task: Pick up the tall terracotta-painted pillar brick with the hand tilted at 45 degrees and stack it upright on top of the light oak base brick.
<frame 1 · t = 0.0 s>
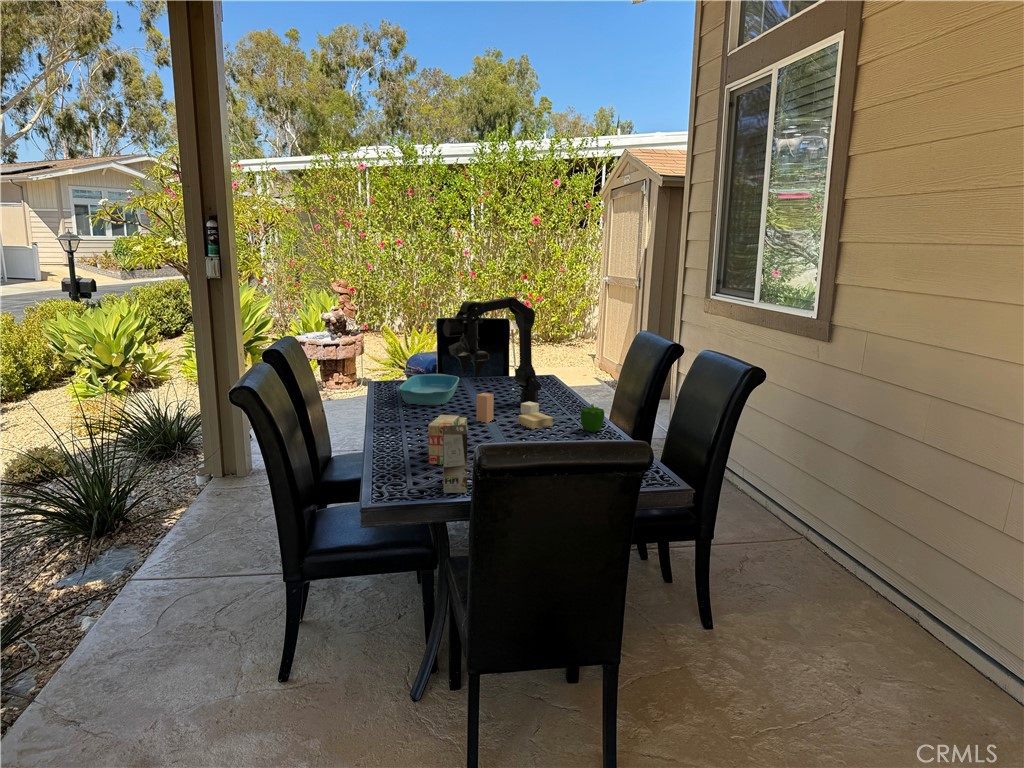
hand: (470, 375, 251), 15 cm above the table, tool pointing down, fingers open, 9 cm apart
coffee box: (455, 487, 175), on the table
base brick: (535, 425, 238), on the table
stack of blocks: (449, 455, 203), on the table
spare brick: (529, 413, 254), on the table
pillar brick: (484, 420, 242), on the table
bell pepper: (591, 430, 232), on the table
casserole dish: (430, 398, 278), on the table
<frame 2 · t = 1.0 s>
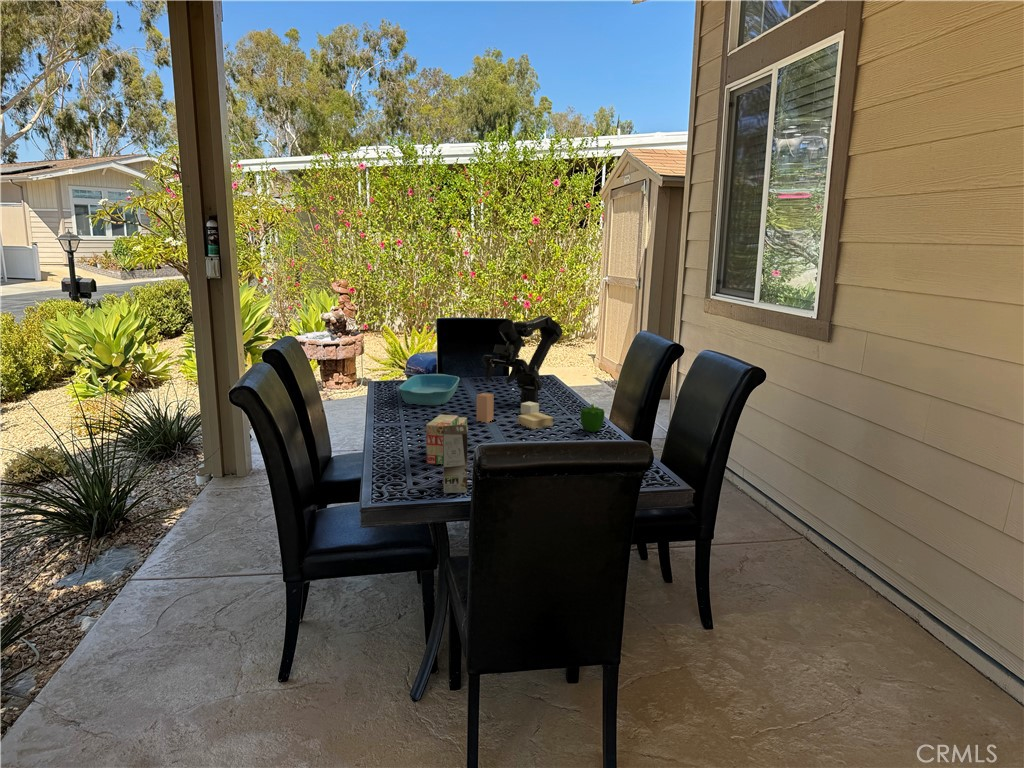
hand: (496, 381, 246), 13 cm above the table, tool tilted 45°, fingers open, 9 cm apart
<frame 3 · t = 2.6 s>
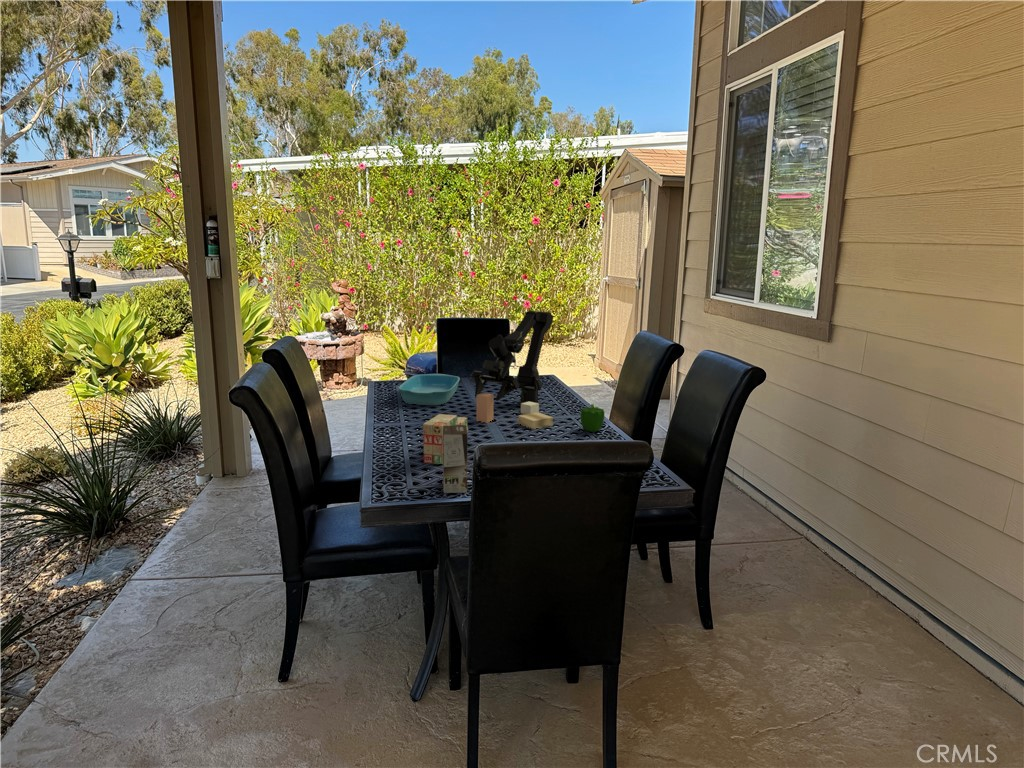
hand: (486, 398, 241), 8 cm above the table, tool tilted 45°, fingers open, 9 cm apart
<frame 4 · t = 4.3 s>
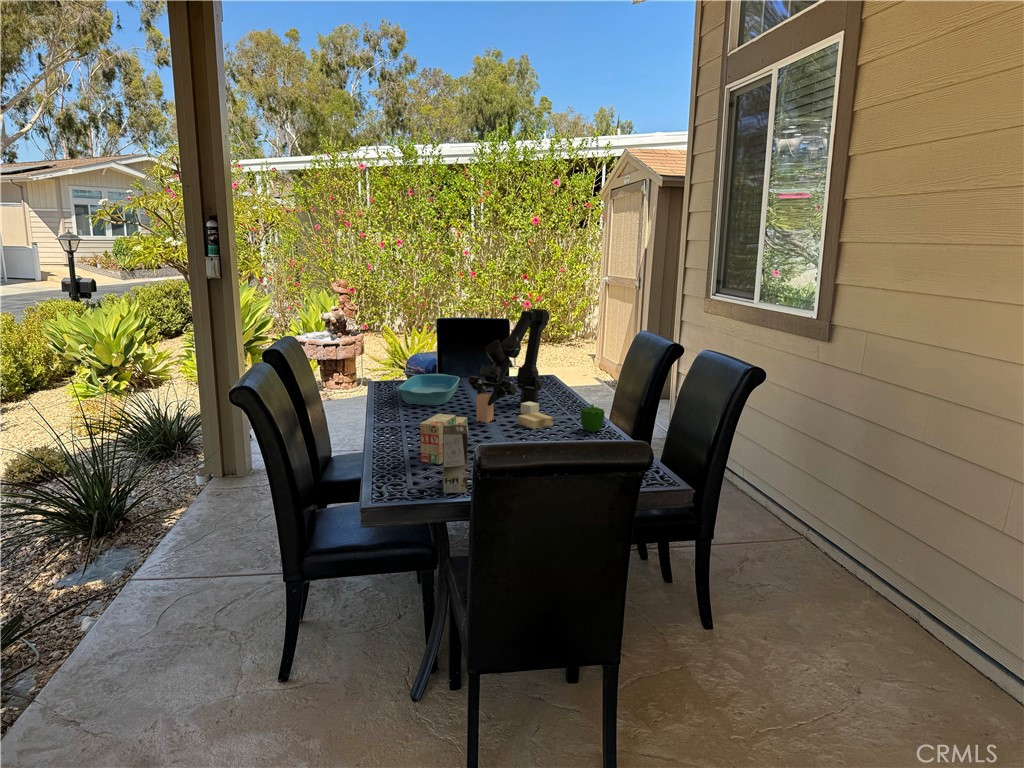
hand: (482, 404, 239), 7 cm above the table, tool tilted 45°, fingers closed on pillar brick, 4 cm apart
pillar brick: (484, 420, 242), on the table, touching gripper
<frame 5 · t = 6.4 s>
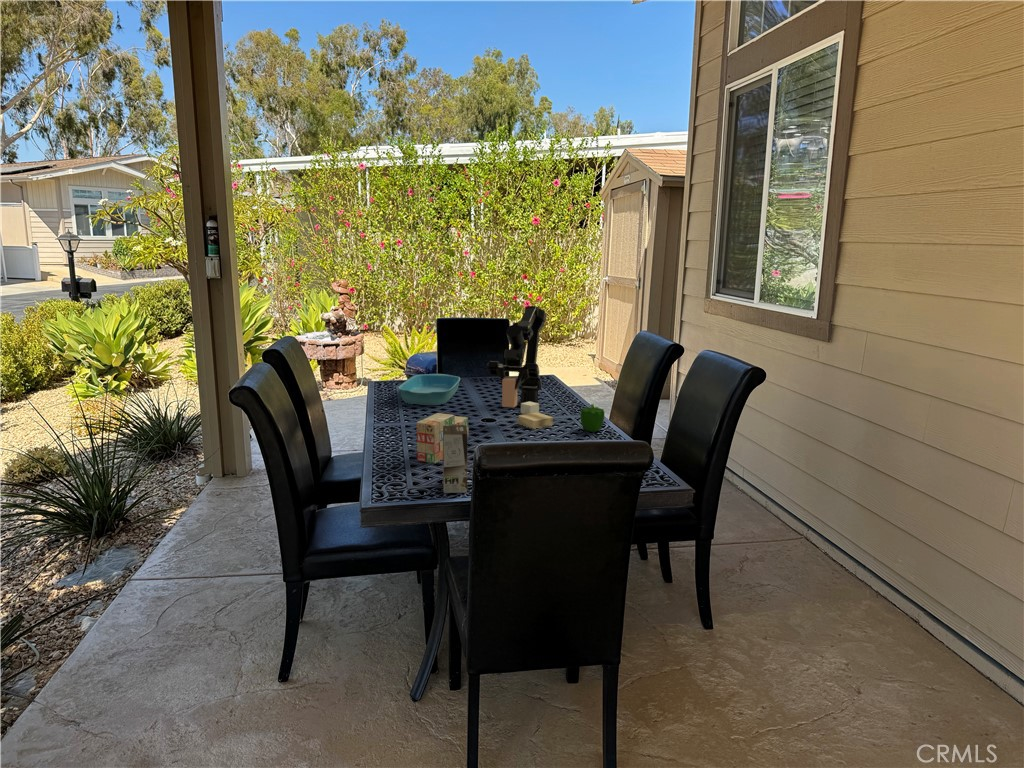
hand: (509, 388, 234), 13 cm above the table, tool tilted 45°, fingers closed on pillar brick, 4 cm apart
pillar brick: (509, 405, 237), point 7 cm above the table, touching gripper
when the fingers open (11 cm above the table, at t = 8.6 s): pillar brick drops 1 cm, resting on base brick.
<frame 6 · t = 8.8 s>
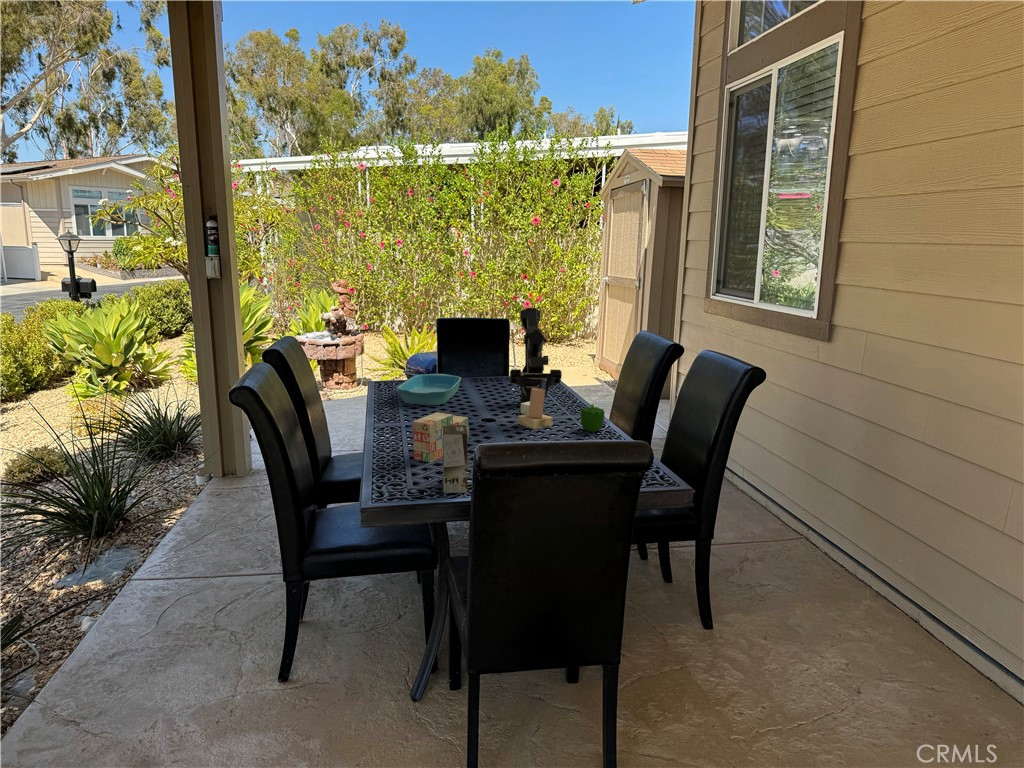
hand: (536, 396, 234), 11 cm above the table, tool tilted 45°, fingers open, 7 cm apart
base brick: (535, 426, 238), on the table, touching pillar brick
pillar brick: (535, 416, 237), point 3 cm above the table, touching base brick
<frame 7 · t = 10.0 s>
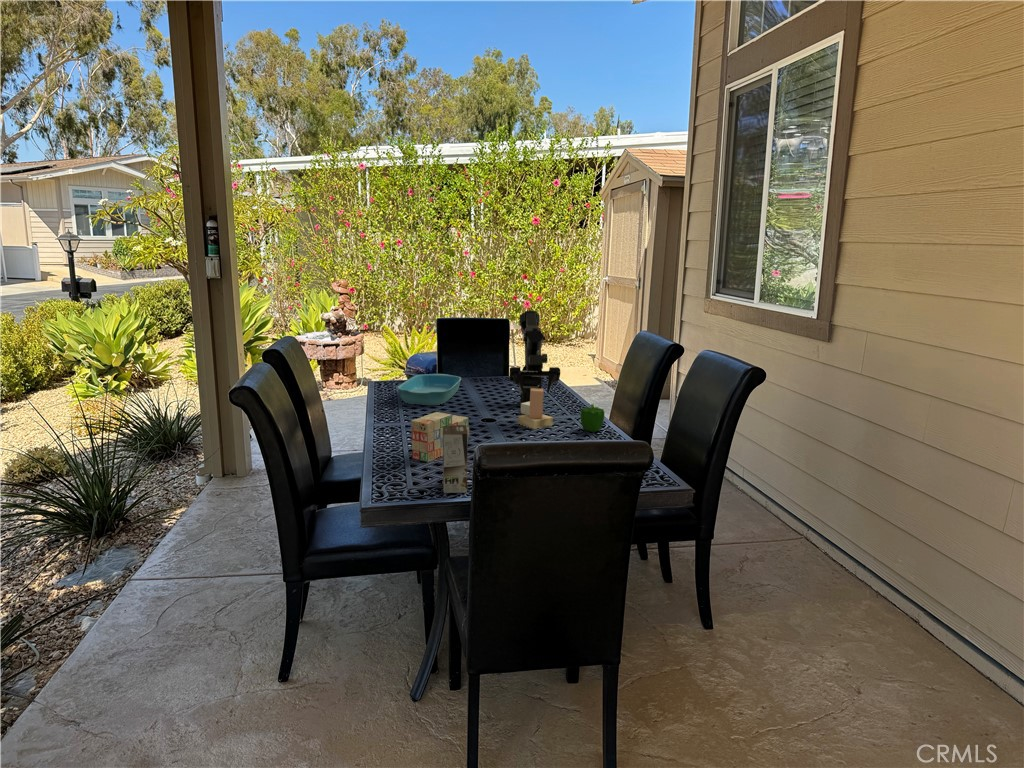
hand: (535, 393, 238), 11 cm above the table, tool tilted 45°, fingers open, 9 cm apart
base brick: (535, 426, 238), on the table
pillar brick: (535, 416, 237), point 3 cm above the table
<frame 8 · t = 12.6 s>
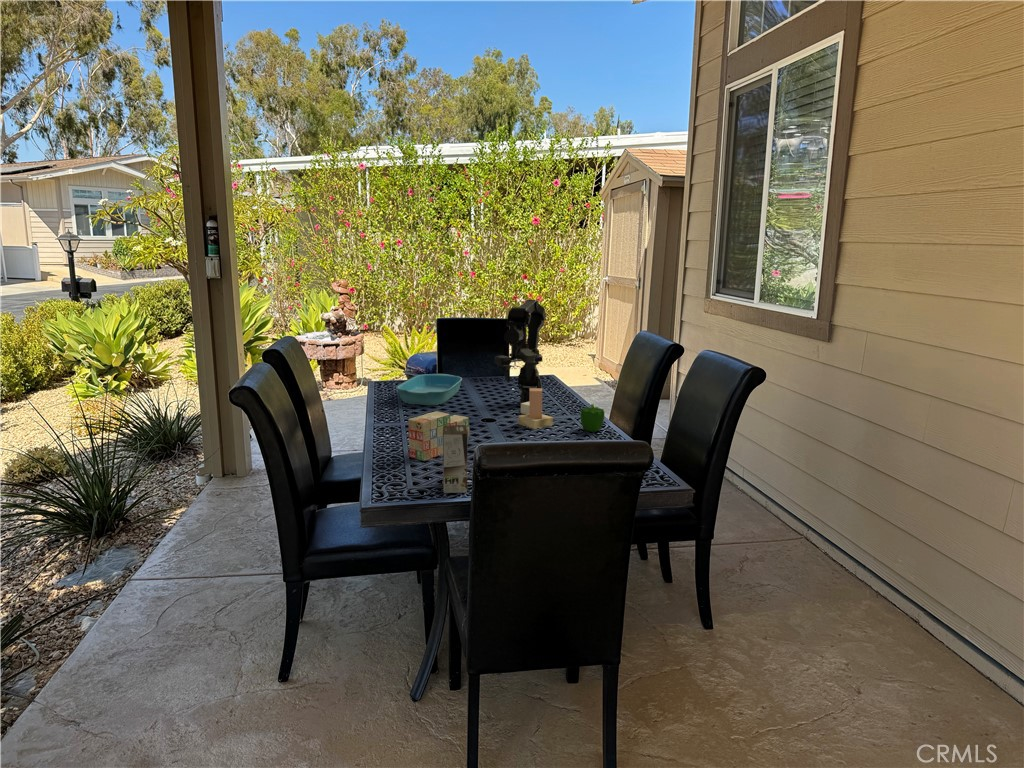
hand: (518, 381, 250), 13 cm above the table, tool pointing down, fingers open, 9 cm apart
base brick: (535, 426, 238), on the table, touching pillar brick
pillar brick: (535, 416, 237), point 3 cm above the table, touching base brick
at the end: pillar brick 0.1 cm off-centre on the base brick, point 3.6 cm above the base brick's base; pillar brick tilted 2°; the gripper is holding nothing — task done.
